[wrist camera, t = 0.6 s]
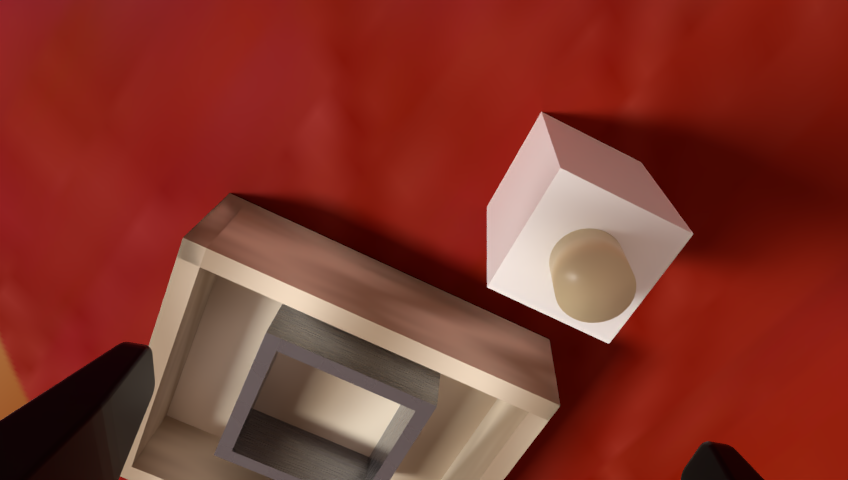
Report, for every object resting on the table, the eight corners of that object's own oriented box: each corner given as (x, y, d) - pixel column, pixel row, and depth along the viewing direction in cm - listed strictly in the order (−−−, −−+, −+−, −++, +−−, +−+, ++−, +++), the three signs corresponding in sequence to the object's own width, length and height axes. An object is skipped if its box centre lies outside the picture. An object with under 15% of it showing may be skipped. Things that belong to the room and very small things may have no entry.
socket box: (549, 339, 25) (560, 405, 21) (424, 515, 30) (416, 592, 26) (229, 193, 23) (182, 237, 20) (156, 405, 28) (108, 471, 25)
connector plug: (641, 162, 21) (712, 260, 14) (580, 251, 23) (619, 376, 16) (541, 111, 21) (567, 188, 14) (486, 206, 22) (487, 316, 16)
